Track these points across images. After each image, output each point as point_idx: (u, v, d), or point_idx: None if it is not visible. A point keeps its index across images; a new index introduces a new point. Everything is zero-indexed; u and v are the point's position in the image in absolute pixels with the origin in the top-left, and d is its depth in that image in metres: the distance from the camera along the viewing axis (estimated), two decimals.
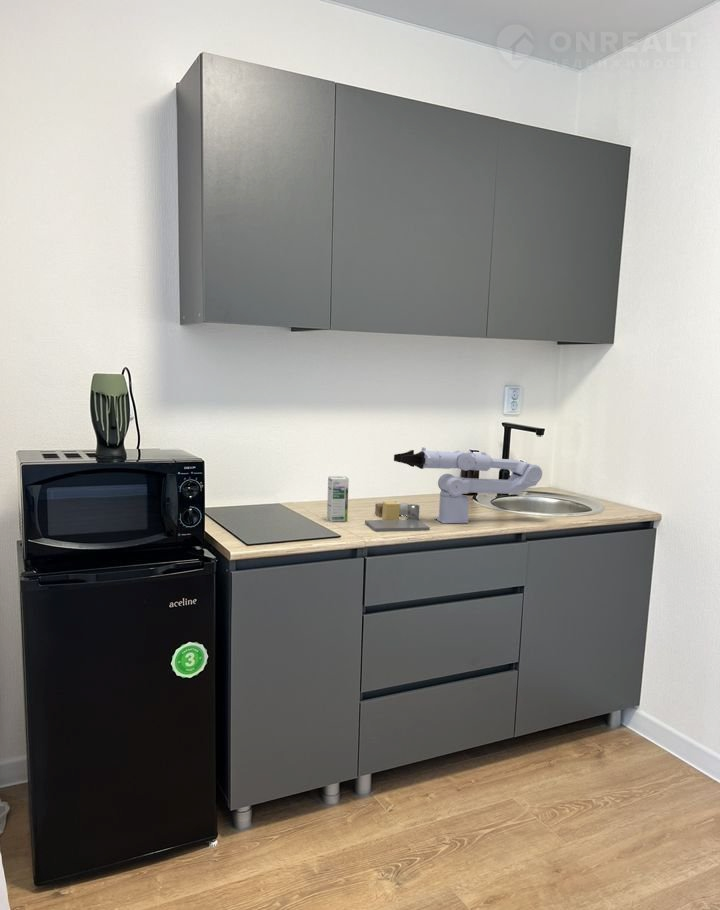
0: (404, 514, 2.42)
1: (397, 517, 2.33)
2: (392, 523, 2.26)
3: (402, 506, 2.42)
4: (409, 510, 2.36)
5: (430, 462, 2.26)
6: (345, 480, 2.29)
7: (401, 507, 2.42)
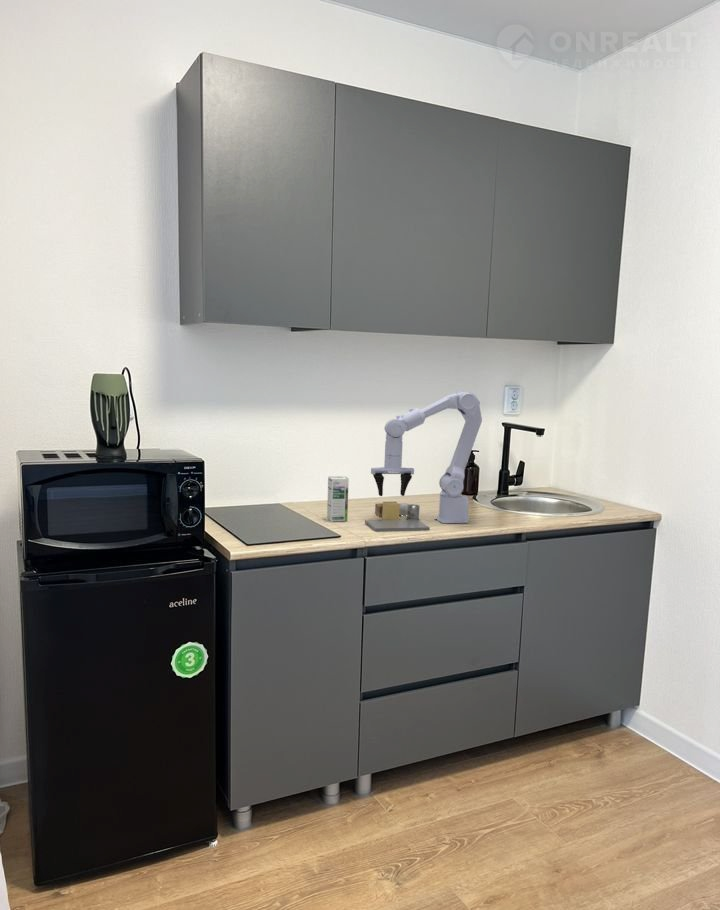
0: (404, 514, 2.42)
1: (397, 517, 2.33)
2: (392, 523, 2.26)
3: (402, 506, 2.42)
4: (409, 510, 2.36)
5: (372, 469, 2.31)
6: (345, 480, 2.29)
7: (401, 507, 2.42)
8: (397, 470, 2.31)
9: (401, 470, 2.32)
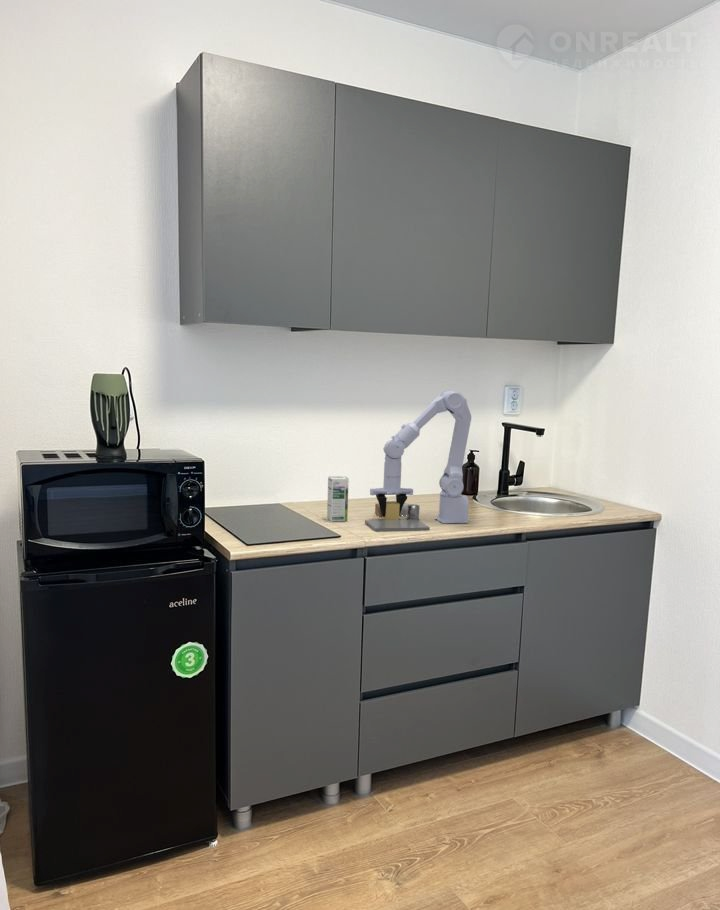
0: (404, 514, 2.42)
1: (397, 517, 2.33)
2: (392, 523, 2.26)
3: None
4: (409, 510, 2.36)
5: (371, 490, 2.32)
6: (345, 480, 2.29)
7: None
8: (396, 491, 2.32)
9: (400, 491, 2.32)
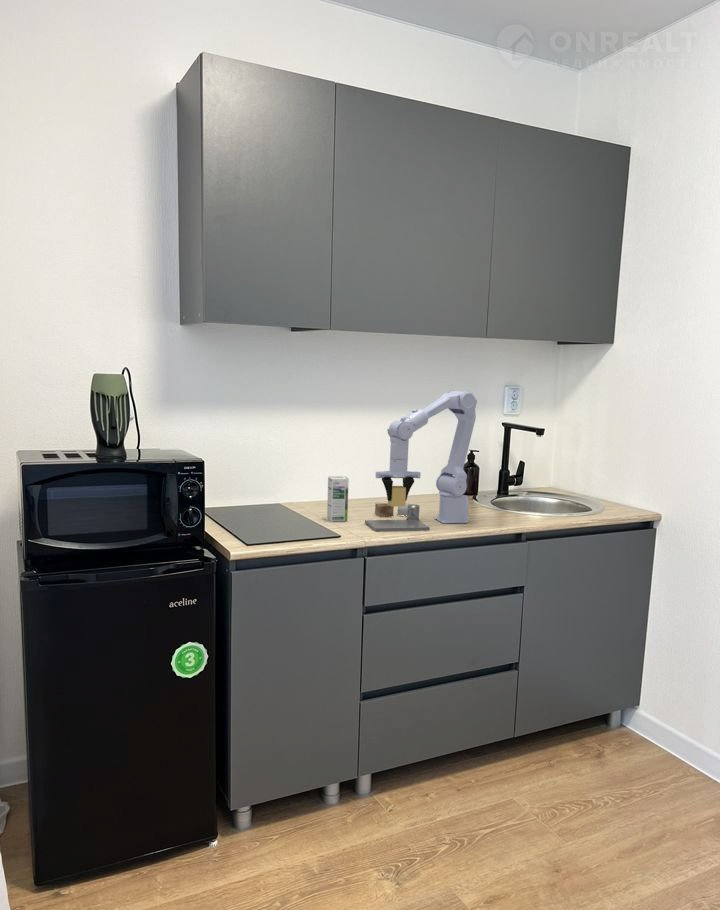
0: (404, 514, 2.42)
1: (403, 501, 2.24)
2: (392, 523, 2.26)
3: (402, 506, 2.42)
4: (409, 510, 2.36)
5: (376, 473, 2.22)
6: (345, 480, 2.29)
7: (401, 507, 2.42)
8: (403, 474, 2.22)
9: (407, 474, 2.23)
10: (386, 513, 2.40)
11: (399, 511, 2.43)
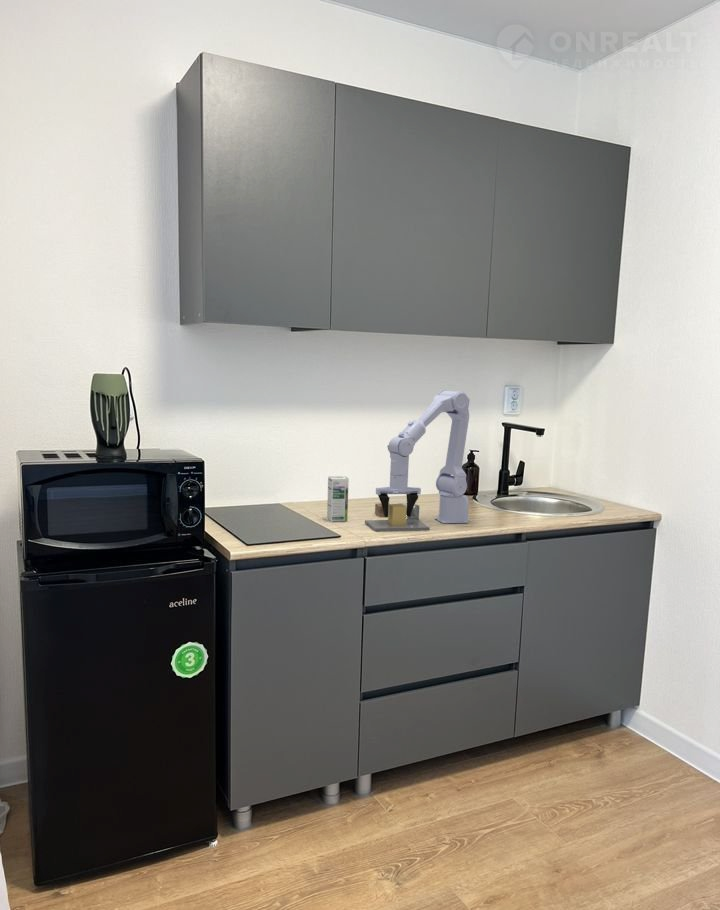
0: None
1: (404, 520, 2.24)
2: None
3: None
4: None
5: (377, 489, 2.22)
6: (345, 480, 2.29)
7: None
8: (403, 490, 2.21)
9: (407, 490, 2.22)
10: None
11: None
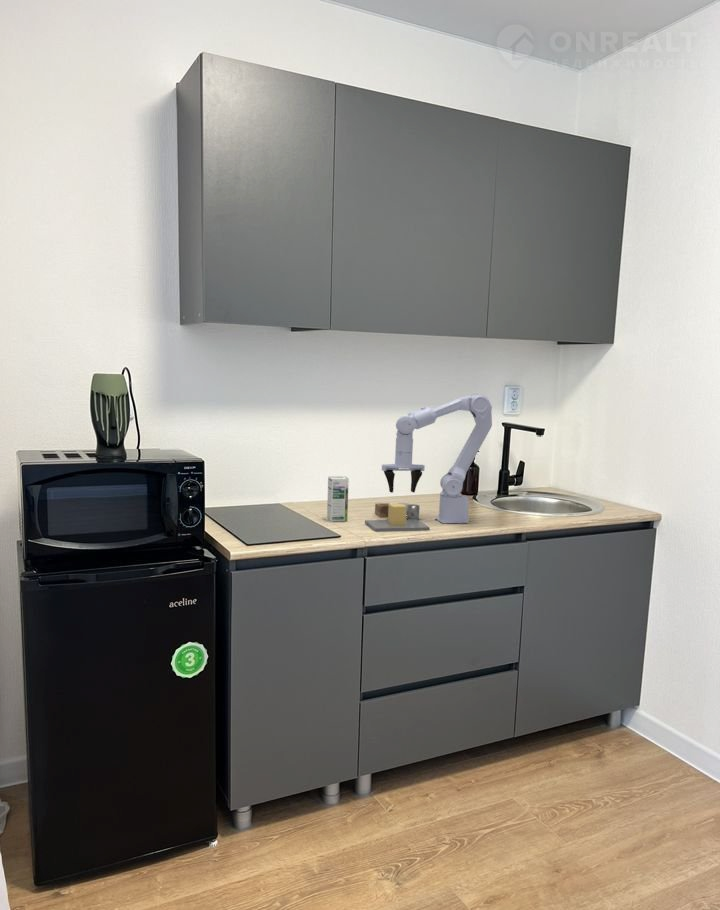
0: None
1: (404, 520, 2.24)
2: None
3: None
4: (409, 510, 2.36)
5: (383, 466, 2.33)
6: (345, 480, 2.29)
7: None
8: (408, 467, 2.33)
9: (412, 467, 2.34)
10: (386, 513, 2.40)
11: None
